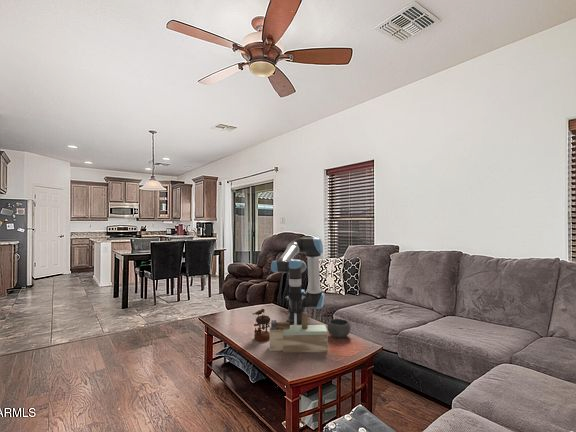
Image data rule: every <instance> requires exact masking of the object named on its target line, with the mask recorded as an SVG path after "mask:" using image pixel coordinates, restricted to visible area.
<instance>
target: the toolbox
mask: <svg viewBox="0 0 576 432" xmlns="http://www.w3.org/2000/svg"><path fill="white" fill-rule="evenodd" d="M276 322H277V320H276V319H270V327H269V333H270V340H269V351H271V352H273V351H282V353H284V354H285V353H328V352H329V351H328V350H329V348H328V347H329V343H328V338H329V337H328V335H283V329H276Z"/></svg>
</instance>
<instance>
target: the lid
mask: <svg viewBox="0 0 576 432" xmlns="http://www.w3.org/2000/svg"><path fill="white" fill-rule="evenodd" d="M308 315H309V313H308V312H306V311H305V312H302V323H301V324H297V326H294V324H290V328H288V329H283V335H328V334H329V331H328V328H327V327H326V324H308V323H309V322H308V319H309V318H308Z"/></svg>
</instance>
